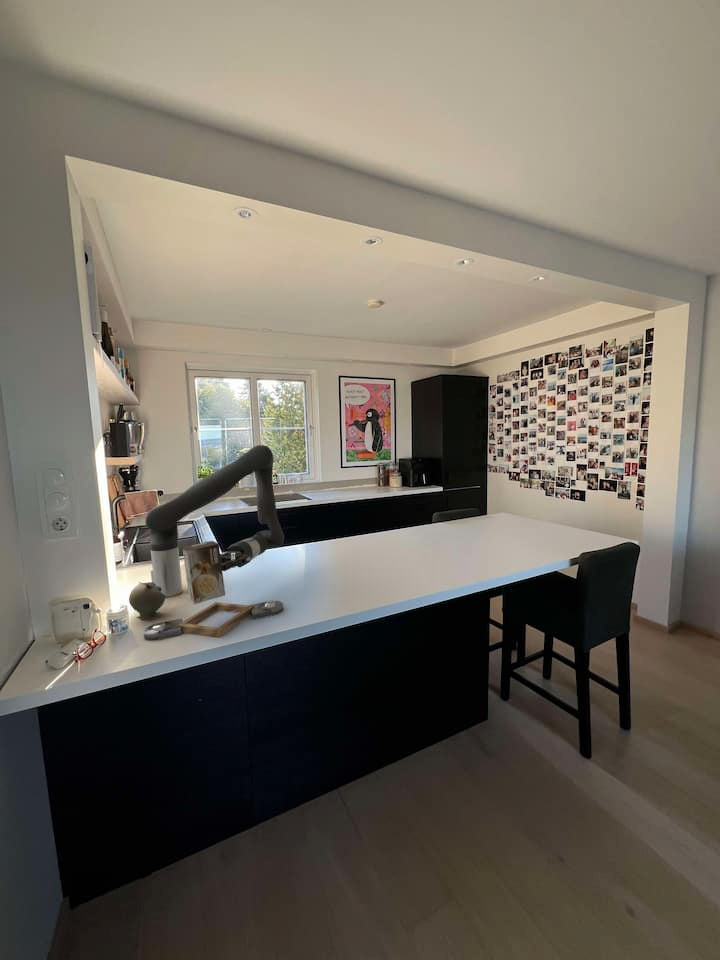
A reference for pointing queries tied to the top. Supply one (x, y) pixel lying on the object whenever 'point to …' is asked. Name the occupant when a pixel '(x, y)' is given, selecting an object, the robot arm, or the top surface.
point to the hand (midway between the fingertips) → (211, 567)
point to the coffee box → (203, 571)
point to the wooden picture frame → (190, 628)
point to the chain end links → (171, 627)
